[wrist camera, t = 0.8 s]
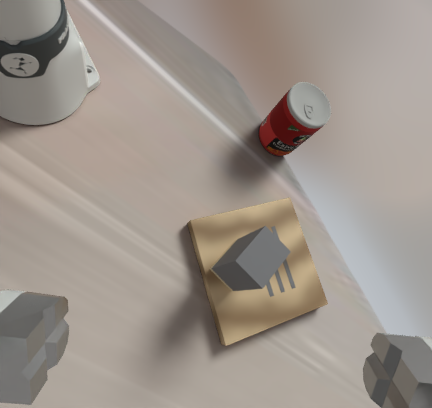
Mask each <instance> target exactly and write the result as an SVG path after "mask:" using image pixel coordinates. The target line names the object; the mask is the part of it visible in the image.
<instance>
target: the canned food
mask: <svg viewBox="0 0 432 408" xmlns="http://www.w3.org/2000/svg"><path fill="white" fill-rule="evenodd" d="M330 115H331V108H330V103H329V101H328V99H327V97H326V95H325V94H324V93H323V92H322V90H320V89H319V88H318V87H317V86H315V85H313V84H311V83H307V82H300V83H297V84H295V85H294V86H293V87H292V88H291V89H290V90H289V91H288V92H287V93H286V94H285V95H284V97H283V98H282V99H281V100H280V101H279V103H278V104H277V105H276V106H275V107H274V109H273V110H272V111H271V112H270V113H269V115H268V116H267V117H266V118H265V119H264V121H263V122H262V123H261V126H260V129H259V138H260V141H261V144H262V145H263V147H264V148H265V149H266V150H267V151H268V152H270V153H271V154H274V155H277V156H283V155H286V154H289V153H291V152H292V151H293V150H294V149H296V148H297V147H298V146H299V145H301V144H302V143H303V142H304V141H306V140H307V139H308V138H309V137H310V136H312V135H313V134H314V133H315V132H316V131H318V130H319V129H320V128H321V127H323V126H324V125H325V124H326V123H327V121H328V120H329V118H330Z"/></svg>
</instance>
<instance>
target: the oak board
mask: <svg viewBox="0 0 432 408" xmlns="http://www.w3.org/2000/svg"><path fill="white" fill-rule="evenodd" d="M187 224H188V228H189V231H190V235H191V238H192V242H193V245H194V249H195V253H196V256H197V260H198V263H199V267H200V270H201V274H202V278H203V281H204V285H205V288H206V292H207V295H208V299H209V302H210V306H211V310H212V313H213V317H214V320H215V324H216V327H217V331H218V334H219V338H220V342H221V344H222V345H225V346H227V345H230V344H232V343H234V342H237V341H239V340H242V339H244V338H247V337H249V336H251V335H254V334H256V333H259V332H261V331H264V330H266V329H268V328H271V327H273V326H276V325H278V324H281V323H283V322H285V321H288V320H290V319H293V318H295V317H297V316H300V315H302V314H305V313H307V312H310V311H312V310H314V309H317V308H319V307H322V306H324V305H327V304H328V302H327V300H326V297H325V294H324V291H323V288H322V286H321V283H320V280H319V277H318V274H317V272H316V269H315V266H314V263H313V260H312V258H311V255H310V252H309V249H308V246H307V244H306V241H305V238H304V235H303V232H302V230H301V227H300V224H299V221H298V218H297V216H296V213H295V210H294V207H293V204H292V202H291V199H290V198H285V199H281V200H277V201H272V202H268V203H264V204H259V205H255V206H251V207H246V208H242V209H238V210H233V211H229V212H225V213H220V214H216V215H212V216H207V217H203V218H199V219H194V220H190V221H189V222H188V223H187ZM264 226H266V227H267V228H268V229H269V230H270V231H271V232H272V233H273V234H274V235H275V236H276V237H277V238H278V239H279V240H280V241H281V242H282V243H283V244H284V245H285V246H286V247H287V248H288V249H289V250H290V251H291V253H290V254H289V255H288V256H287V258H286V259H285V260H284V262H283V263H282V264H281V266H280V267H279V268H278V270H277V271H276V272H275V273H274V275H273V276H272V277H271V279H270V280H269V281H268V283H267V284H266V285H265V287H264V288H263V289H254V290H242V291H231V290H230V289H229V288H228V287H227V286H226V285H225V284H224V283H223V282H222V281H221V280H220V279H219V278H218V277H217V276H216V275H215V274H214V273H213V272H212V271H211V270H210V268H211V267H212V266H213V265H214V264H215V263H216V261H217V260H218V259H219V258H220V257H221V256H222V255H223V254H224V252H225V251H226V250H227V249H228V248H229V247H230V246H231V245H232V244H233V242H234V241H235V240H237V239H239V238H241V237H243V236H245V235H247V234H249V233H251V232H254V231H256V230H258V229H260V228H262V227H264Z"/></svg>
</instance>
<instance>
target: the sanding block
mask: <svg viewBox="0 0 432 408" xmlns="http://www.w3.org/2000/svg"><path fill="white" fill-rule="evenodd" d="M290 253H291V251H290V250H289V249H288V248H287V247H286V246H285V245H284V244H283V243H282V242H281V241H280V240H279V239H278V238H277V237H276V236H275V235H274V234H273V233H272V232H271V231H270V230H269V229H268V228H267V227H266V226H264V227H262V228H260V229H258V230H256V231H254V232H251V233H249V234H247V235H245V236H243V237H241V238H239V239H237V240H235V241H234V242H233V244H232V245H231V246H230V247H229V248H228V249H227V250H226V251H225V252H224V254H223V255H222V256H221V257H220V258H219V259H218V260H217V261H216V263H215V264H214V265H213V266H212V267H211V268H210V270H211V271H212V272H213V273H214V274H215V275H216V276H217V277H218V278H219V279H220V280H221V281H222V282H223V283H224V284H225V285H226V286H227V287H228V288H229V289H230V290H231V291H242V290H254V289H263V288H264V287H265V285H266V284H267V283H268V281H269V280H270V279H271V277H272V276H273V275H274V273H275V272H276V271H277V270H278V268H279V267H280V266H281V264H282V263H283V262H284V260H285V259H286V258H287V256H288V255H289V254H290Z"/></svg>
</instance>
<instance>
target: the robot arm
mask: <svg viewBox="0 0 432 408" xmlns="http://www.w3.org/2000/svg"><path fill="white" fill-rule="evenodd" d="M87 72H91V73H87ZM99 84H100V77H99V74H98V72H97V70H96V68H95V66H94V64H93V62H92V60H91V58H90V56H89V54H88V52H87V50H86V48H85V46H84V43H83V41H82V39H81V37H80V35H79V33H78V31H77V29H76V27H75V25H74V23H73V21H72V19H71V17H70V15H69V13H68V11H67V9H66V6H65V3H64V0H0V116H1V117H3V118H5V119H7V120H10V121H13V122H16V123H21V124H28V125H43V124H49V123H54V122H57V121H59V120H62V119H64V118H66V117H68V116H69V115H71V114H72V113H73V112H74V111H75V110H76V109H77V108H78V107H79V106H80V105H81V103H82V101H83V99H84V98H85V96H86V95H87V93H88V92H90V91H91V90H93V89H94V88H96V87H97V86H98V85H99ZM67 312H68V300H67V299H66V298H65V297H63V296H55V295H48V294H41V293H33V292H24V291H17V290H9V289H7V290H3V291H1V292H0V402H1V403H14V404H28V405H31V404H32V403H33V401H34V400H35V398H36V397H37V395H38V393H39V392H40V390H41V389H42V387H43V386H44V384H45V383H46V381H47V370H49V369H50V368H52V367H54V366H55V365H57V364H58V362H59V360H60V359H61V357H62V356H63V353H64V351H65V348H66V345H67V342H68V336H69V325H68V324H67V322H66V321H65V320H64V316H65V315H66V314H67ZM371 347H372V349H373V351H374V353H372V354H371V355H370V356H369V357H367V358H366V360H365V364H364V367H363V380H364V384H365V388H366V390H367V392H368V394H369V396H370V398H371V399H372V400H373V401H374V402H375V403H376V404H377V405H379V406H380V407H381V408H432V338H430V337H419V336H415V337H411V336H403V335H394V334H385V333H377V334H376V335H375V336H374V337H373V339H372V342H371Z"/></svg>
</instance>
